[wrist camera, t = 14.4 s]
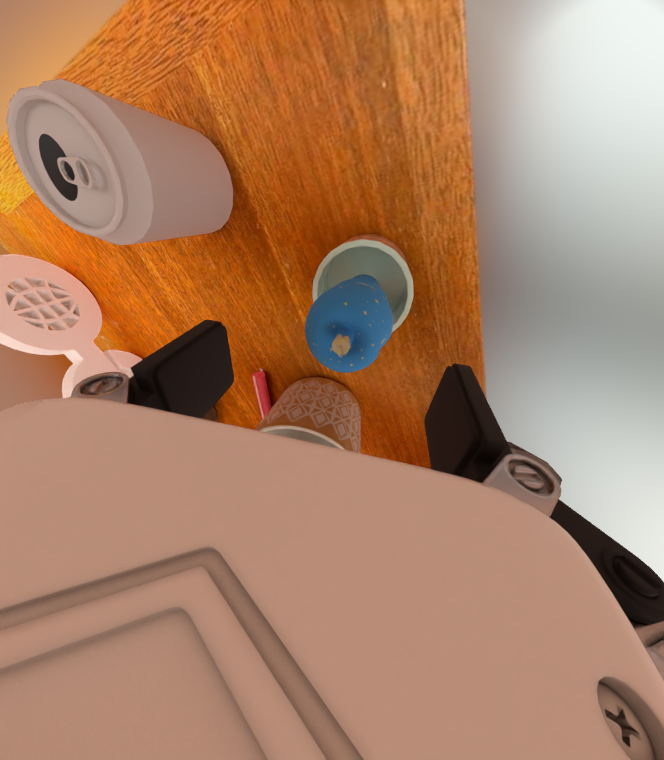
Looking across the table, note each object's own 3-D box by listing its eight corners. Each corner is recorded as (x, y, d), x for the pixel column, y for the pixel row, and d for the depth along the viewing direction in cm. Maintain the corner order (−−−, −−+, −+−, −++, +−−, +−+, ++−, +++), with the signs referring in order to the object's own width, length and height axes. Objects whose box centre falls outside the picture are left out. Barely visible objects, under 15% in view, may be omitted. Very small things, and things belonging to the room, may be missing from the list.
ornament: (353, 317, 27) (320, 409, 15) (329, 270, 25) (268, 333, 13) (400, 295, 25) (408, 381, 12) (379, 242, 23) (364, 283, 10)
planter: (270, 419, 39) (236, 479, 30) (289, 352, 31) (251, 407, 23) (347, 450, 39) (335, 517, 31) (384, 391, 32) (381, 458, 23)
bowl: (329, 228, 23) (315, 232, 19) (421, 240, 22) (427, 248, 18) (322, 315, 28) (310, 333, 24) (397, 328, 27) (398, 349, 23)
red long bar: (295, 494, 44) (271, 488, 46) (299, 483, 46) (276, 478, 47) (274, 379, 31) (240, 375, 32) (281, 370, 33) (248, 367, 34)
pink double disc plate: (44, 255, 30) (-83, 272, 22) (54, 248, 30) (-74, 264, 21) (165, 398, 41) (108, 446, 32) (175, 396, 40) (119, 444, 32)
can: (150, 124, 21) (-50, 55, 12) (233, 134, 21) (95, 71, 11) (172, 226, 26) (39, 238, 16) (241, 238, 25) (147, 257, 15)
